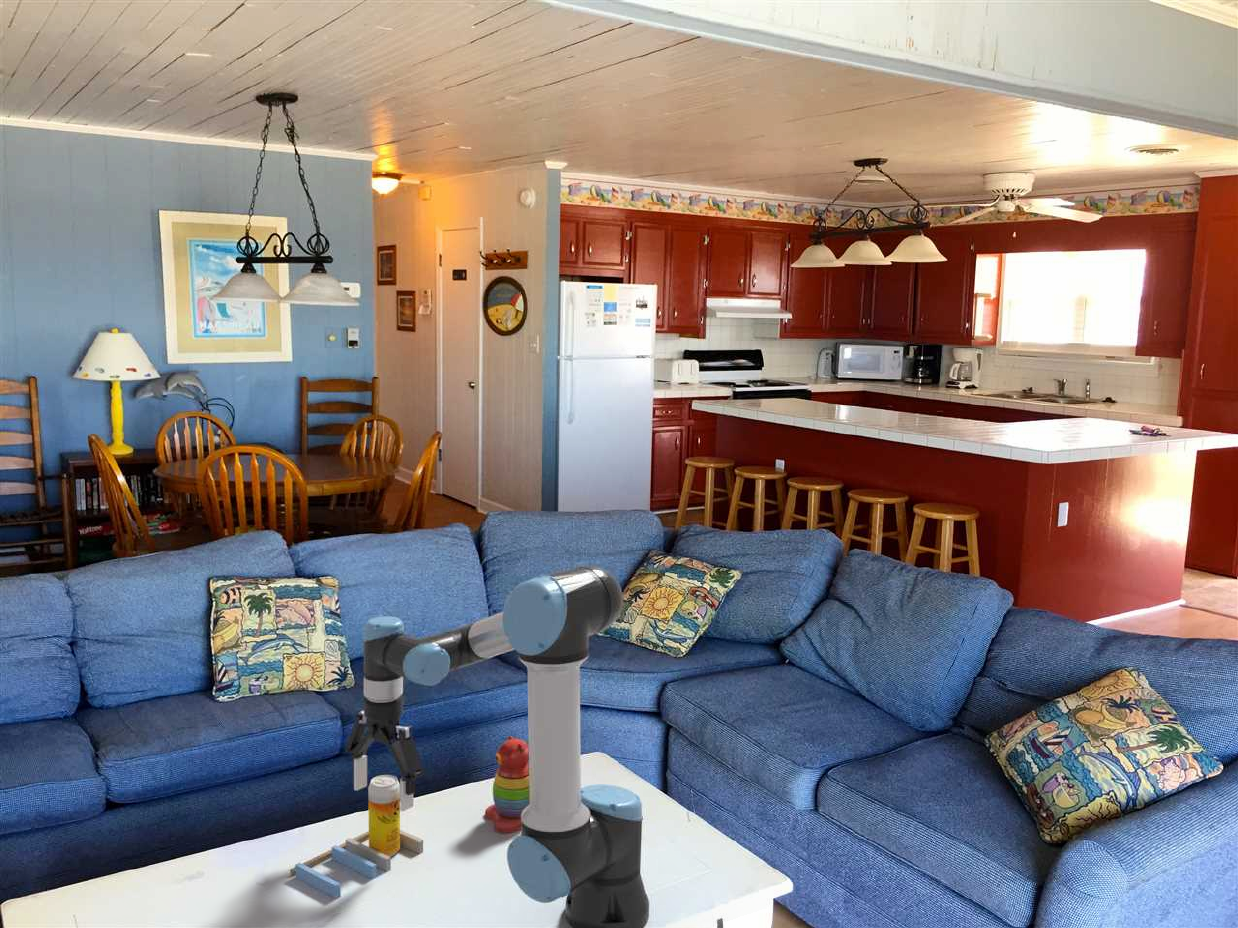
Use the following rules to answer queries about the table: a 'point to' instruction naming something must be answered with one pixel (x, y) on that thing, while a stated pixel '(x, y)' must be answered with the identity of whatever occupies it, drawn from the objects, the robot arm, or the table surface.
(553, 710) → the robot arm
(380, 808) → the beer can
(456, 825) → the table surface
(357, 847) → the rack
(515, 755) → the stacking bear
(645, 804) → the table surface
